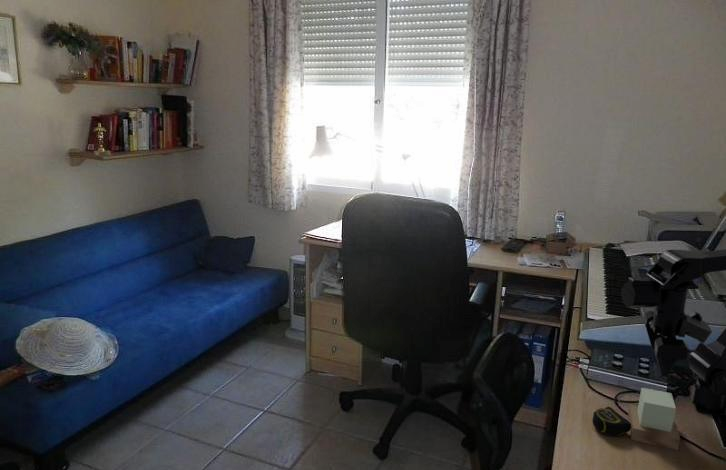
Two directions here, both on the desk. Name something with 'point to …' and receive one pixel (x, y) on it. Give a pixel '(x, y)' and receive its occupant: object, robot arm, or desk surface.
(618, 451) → the desk surface
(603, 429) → the tape measure
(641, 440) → the tan square block
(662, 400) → the sage block
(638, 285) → the robot arm
